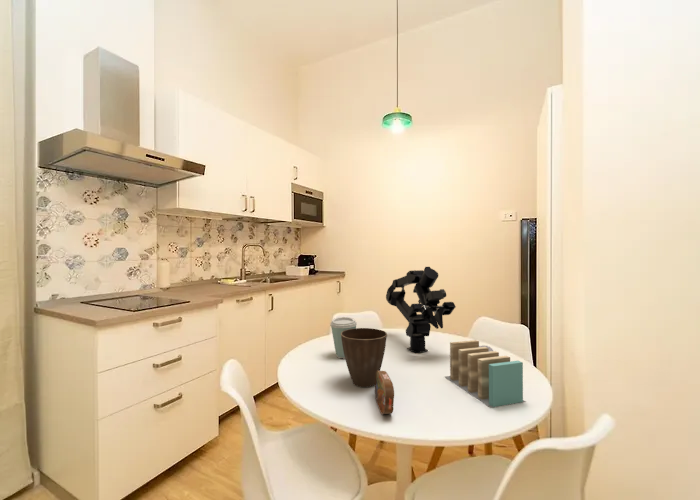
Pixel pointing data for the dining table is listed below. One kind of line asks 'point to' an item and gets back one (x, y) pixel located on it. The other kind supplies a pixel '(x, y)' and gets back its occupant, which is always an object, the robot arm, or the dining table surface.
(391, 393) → the tin
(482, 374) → the domino
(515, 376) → the domino
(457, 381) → the mat
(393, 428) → the dining table surface
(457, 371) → the domino
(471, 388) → the domino
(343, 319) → the disposable coffee cup
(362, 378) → the plant pot
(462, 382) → the domino
